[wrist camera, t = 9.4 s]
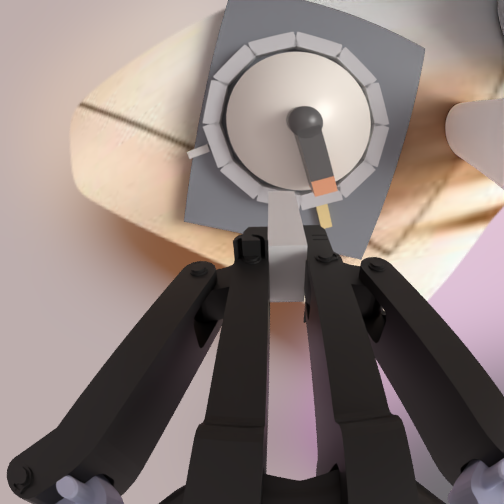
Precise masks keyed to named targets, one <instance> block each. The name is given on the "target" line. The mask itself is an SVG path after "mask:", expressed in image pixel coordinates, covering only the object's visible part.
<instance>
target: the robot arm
mask: <svg viewBox="0 0 504 504" xmlns="http://www.w3.org/2000/svg"><path fill="white" fill-rule="evenodd" d="M233 246H234V257H235V261H234V264H233V265H231V266H229V267H226V268H222V269H218V270H216V268H215V266H214V265H213V264H212V263H209V262H206V261H199V262H193V263H191V264H189V265H187V266H186V267H185V268H183V270H182V271H181V272H180V273H179V274H178V275H177V277H176V278H175V279H174V280H173V281H172V282H171V283H170V285H169V286H168V287H167V288H166V289H165V291H164V292H163V293H162V294H161V295H160V297H159V298H158V299H157V300H156V301H155V302H154V304H153V305H152V306H151V307H150V308H149V310H148V311H147V312H146V313H145V314H144V316H143V317H142V318H141V319H140V320H139V322H138V323H137V324H136V325H135V327H134V328H133V329H132V330H131V331H130V333H129V334H128V335H127V336H126V338H125V339H124V340H123V342H122V343H121V344H120V345H119V346H118V348H117V349H116V350H115V351H114V353H113V354H112V355H111V356H110V358H109V359H108V360H107V362H106V363H105V364H104V365H103V367H102V368H101V370H100V371H99V372H98V373H97V375H96V376H95V377H94V378H93V380H92V381H91V382H90V384H89V385H88V387H87V388H86V389H85V390H84V392H83V393H82V394H81V395H80V397H79V398H78V400H77V401H76V402H75V404H74V405H73V406H72V408H71V409H70V410H69V412H68V413H67V415H66V416H65V417H64V419H63V420H62V422H61V423H60V424H59V426H58V427H57V428H56V429H54V430H53V431H52V432H50V433H49V434H47V435H46V436H45V437H43V438H42V439H40V440H39V441H38V442H36V443H35V444H33V445H32V446H31V447H29V448H28V449H26V450H25V451H23V452H22V453H21V454H20V455H18V456H16V457H15V458H14V459H13V460H12V461H11V462H10V463H9V466H8V469H7V480H8V484H9V486H10V488H11V490H12V491H13V492H14V493H15V494H16V495H17V496H19V497H20V498H22V499H24V500H26V501H28V502H30V503H32V504H124V503H123V500H122V498H121V495H122V494H124V493H125V492H126V491H127V490H128V488H129V487H130V486H131V485H132V484H133V483H134V482H135V480H136V479H137V477H138V475H139V474H140V472H141V471H142V469H143V468H144V466H145V464H146V462H147V461H148V459H149V457H150V455H151V453H152V452H153V450H154V448H155V446H156V444H157V443H158V441H159V439H160V437H161V435H162V434H163V432H164V430H165V428H166V426H167V425H168V423H169V421H170V419H171V417H172V416H173V414H174V412H175V410H176V408H177V407H178V405H179V403H180V401H181V399H182V397H183V395H184V394H185V392H186V390H187V388H188V387H189V385H190V383H191V381H192V379H193V377H194V375H195V374H196V372H197V370H198V368H199V366H200V365H201V363H202V361H203V359H204V357H205V356H206V354H207V352H208V350H209V348H210V346H211V344H212V343H213V341H214V339H215V337H216V335H217V333H218V332H219V330H220V328H221V326H222V328H221V333H220V339H219V344H218V349H217V354H216V360H215V365H214V371H213V376H212V382H211V388H210V393H209V398H208V404H207V410H206V415H205V419H204V421H203V423H201V424H199V426H198V428H197V430H196V433H195V437H194V443H193V447H192V453H191V458H190V464H189V470H188V475H187V481H186V485H185V486H183V487H181V488H179V489H177V490H176V491H174V492H173V493H172V494H171V495H169V496H168V497H167V498H165V499H164V500H163V501H161V502H160V503H159V504H446V503H444V502H443V501H442V500H440V499H438V497H436V496H435V495H434V494H432V493H431V492H430V491H429V490H427V489H426V488H425V487H423V486H422V485H421V484H419V483H418V482H417V481H416V480H415V475H414V469H413V464H412V459H411V454H410V449H409V445H408V440H407V436H406V432H405V428H404V425H403V422H402V420H401V419H400V417H399V416H398V415H393V414H391V412H390V410H389V408H388V404H387V400H386V396H385V392H384V388H383V384H382V380H381V377H380V373H379V370H378V366H377V363H376V360H377V361H378V363H379V365H380V366H381V368H382V370H383V371H384V373H385V374H386V376H387V378H388V379H389V381H390V383H391V385H392V386H393V388H394V390H395V392H396V393H397V395H398V397H399V398H400V400H401V402H402V404H403V405H404V407H405V409H406V411H407V413H408V414H409V416H410V418H411V420H412V421H413V423H414V425H415V427H416V429H417V430H418V432H419V434H420V436H421V438H422V440H423V442H424V444H425V445H426V447H427V449H428V451H429V453H430V455H431V457H432V459H433V460H434V462H435V464H436V466H437V467H438V469H439V470H440V472H441V473H442V474H443V476H444V477H445V478H446V479H447V481H449V482H450V483H451V485H453V489H452V490H451V491H450V493H449V495H448V502H449V503H450V504H504V396H503V395H502V393H501V392H500V391H499V389H498V387H497V386H496V385H495V383H494V382H493V381H492V379H491V378H490V376H489V375H488V374H487V373H486V371H485V370H484V369H483V367H482V366H481V365H480V363H479V362H478V361H477V360H476V359H475V357H474V356H473V355H472V353H471V352H470V351H469V350H468V348H467V347H466V346H465V345H464V343H463V342H462V341H461V340H460V339H459V337H458V336H457V335H456V334H455V333H454V331H453V330H452V329H451V328H450V327H449V326H448V325H447V323H446V322H445V321H444V320H443V319H442V318H441V316H440V315H439V314H438V313H437V312H436V311H435V310H434V309H433V308H432V307H431V305H430V304H429V303H428V302H427V301H426V300H425V299H424V298H423V297H422V296H421V295H420V293H419V292H418V291H417V290H416V289H415V288H414V287H413V286H412V285H411V284H410V283H409V282H408V281H407V280H406V279H405V278H404V277H403V276H402V275H401V274H400V273H399V272H398V271H397V270H396V269H395V268H394V267H393V266H392V265H391V264H390V263H389V262H387V261H386V260H384V259H381V258H377V257H369V258H366V259H364V260H363V261H361V266H354V265H349V264H346V263H343V261H342V259H341V257H340V256H339V254H337V253H336V252H334V251H333V249H332V246H331V244H330V241H329V238H328V236H327V233H326V231H325V229H324V228H323V227H321V226H320V225H303V224H302V220H301V216H300V212H299V208H298V204H297V200H296V196H295V192H294V191H268V226H267V227H248V228H247V229H246V230H245V231H244V232H243V234H242V235H239V236H237V237H236V238H235V239H234V240H233ZM304 296H305V312H304V323H305V322H306V324H307V333H308V341H309V351H310V360H311V370H312V381H313V392H314V404H315V417H316V430H317V445H318V446H317V447H318V461H317V469H316V477H314V478H310V479H307V480H302V481H297V480H291V479H286V478H281V477H276V476H271V475H267V474H266V461H267V428H268V395H269V394H268V393H269V344H270V302H302V301H304ZM383 309H384V310H385V311H384V310H383ZM375 358H376V359H375Z"/></svg>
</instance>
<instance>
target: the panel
mask: <svg viewBox="0 0 504 504" xmlns="http://www.w3.org/2000/svg"><path fill="white" fill-rule="evenodd" d="M286 52H307V53H312V54H316V55H319V56H322V57H325V58H327V59H329V60H331V61H333V62H335V63H337V64H338V65H340V66H341V67H342V68H344V69H345V70H346V71H347V72H348V73H349V74H350V75H351V76H352V77H353V78H354V79H355V80H356V82H357V83H358V85H359V86H360V88H361V89H362V91H363V93H364V95H365V97H366V100H367V103H368V106H369V111H370V119H371V128H370V136H369V141H368V144H367V146H366V149H365V151H364V153H363V155H362V157H361V159H360V160H359V161H358V163H357V164H356V165H355V167H354V168H353V169H352V170H351V171H350V172H349V173H347V174H346V175H345V176H344V177H342V178H341V179H339V180H338V181H336V186H337V190H338V191H336V192H332V193H328V194H324V195H321V196H317V197H315V196H314V194H313V192H312V190H291V189H284V188H281V187H277V186H275V185H272V184H270V183H267V182H266V181H264V180H262V179H260V178H259V177H257V176H256V175H255V174H253V173H252V172H251V171H250V170H249V169H248V168H247V167H246V166H245V165H244V164H243V163H242V161H241V160H240V159H239V157H238V156H237V154H236V153H235V151H234V149H233V147H232V144H231V142H230V139H229V135H228V131H227V124H226V114H227V106H228V102H229V99H230V96H231V93H232V91H233V89H234V87H235V85H236V84H237V82H238V80H239V79H240V78H241V77H242V76H243V74H244V73H245V72H246V71H247V70H249V69H250V68H251V67H252V66H253V65H255V64H256V63H258V62H259V61H261V60H263V59H265V58H267V57H270V56H273V55H276V54H280V53H286ZM424 54H425V48H423V47H421V46H419V45H418V44H416V43H414V42H412V41H410V40H408V39H406V38H404V37H402V36H400V35H398V34H396V33H394V32H392V31H390V30H387V29H385V28H383V27H381V26H378V25H376V24H374V23H371V22H369V21H366V20H364V19H361V18H359V17H356V16H353V15H351V14H348V13H345V12H342V11H339V10H336V9H333V8H330V7H326V6H323V5H320V4H316V3H312V2H309V1H305V0H228V3H227V6H226V10H225V13H224V17H223V20H222V24H221V28H220V31H219V35H218V39H217V43H216V47H215V51H214V55H213V59H212V63H211V67H210V72H209V76H208V81H207V85H206V90H205V95H204V100H203V105H202V110H201V115H200V120H199V125H198V131H197V136H196V142H195V148H194V149H193V150H190V151H188V152H187V154H188V157H189V159H191V158H193V160H192V167H191V173H190V180H189V187H188V194H187V201H186V209H185V217H184V222H188V223H193V224H198V225H203V226H208V227H213V228H218V229H223V230H228V231H233V232H237V233H242V234H243V232H244V231H245V230H246V229H247V228H248V227H267V226H268V191H294V192H295V196H296V200H297V204H298V208H299V212H300V216H301V220H302V224H303V225H320V226H321V227H323V228H324V229H325V231H326V233H327V236H328V238H329V241H330V244H331V246H332V249H333V251H334V252H336V253H337V254H339V255H343V256H348V257H352V258H357V259H362V256H363V254H364V252H365V249H366V247H367V245H368V242H369V240H370V237H371V235H372V232H373V230H374V227H375V225H376V222H377V220H378V217H379V214H380V212H381V209H382V206H383V204H384V201H385V198H386V195H387V193H388V190H389V187H390V184H391V181H392V178H393V175H394V172H395V169H396V166H397V163H398V160H399V156H400V153H401V150H402V146H403V143H404V140H405V136H406V133H407V129H408V125H409V122H410V118H411V114H412V110H413V106H414V102H415V98H416V93H417V89H418V84H419V80H420V75H421V70H422V65H423V59H424Z"/></svg>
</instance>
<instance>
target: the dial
mask: <svg viewBox="0 0 504 504" xmlns="http://www.w3.org/2000/svg"><path fill="white" fill-rule="evenodd" d="M226 124H227V131H228V135H229V139H230V142H231V144H232V147H233V149H234V151H235V153H236V154H237V156H238V157H239V159H240V160H241V161H242V163H243V164H244V165H245V166H246V167H247V168H248V169H249V170H250V171H251V172H252V173H253V174H255V175H256V176H257V177H259V178H260V179H262V180H264V181H266V182H267V183H270V184H272V185H275V186H277V187H281V188H284V189H291V190H312V192H313V194H314V196H315V197H317V196H321V195H324V194H328V193H332V192H336V191H338V190H337V186H336V181H338V180H339V179H341V178H342V177H344V176H345V175H346V174H347V173H349V172H350V171H351V170H352V169H353V168H354V167H355V165H356V164H357V163H358V161H359V160H360V159H361V157H362V155H363V153H364V151H365V149H366V146H367V144H368V141H369V136H370V128H371V119H370V111H369V106H368V103H367V100H366V97H365V95H364V93H363V91H362V89H361V88H360V86H359V85H358V83H357V82H356V80H355V79H354V78H353V77H352V76H351V75H350V74H349V73H348V72H347V71H346V70H345V69H344V68H342V67H341V66H340V65H338V64H337V63H335V62H333V61H331V60H329V59H327V58H325V57H322V56H319V55H316V54H312V53H307V52H286V53H280V54H276V55H273V56H270V57H267V58H265V59H263V60H261V61H259V62H258V63H256V64H255V65H253V66H252V67H251V68H250V69H249V70H247V71H246V72H245V73H244V74H243V76H242V77H241V78H240V79H239V80H238V82H237V84H236V85H235V87H234V89H233V91H232V93H231V96H230V99H229V102H228V106H227V114H226Z"/></svg>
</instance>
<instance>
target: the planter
mask: <svg viewBox="0 0 504 504" xmlns="http://www.w3.org/2000/svg"><path fill="white" fill-rule="evenodd" d="M498 17H499V22H500V26H501V30H502V33H503V36H504V0H498Z"/></svg>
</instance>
